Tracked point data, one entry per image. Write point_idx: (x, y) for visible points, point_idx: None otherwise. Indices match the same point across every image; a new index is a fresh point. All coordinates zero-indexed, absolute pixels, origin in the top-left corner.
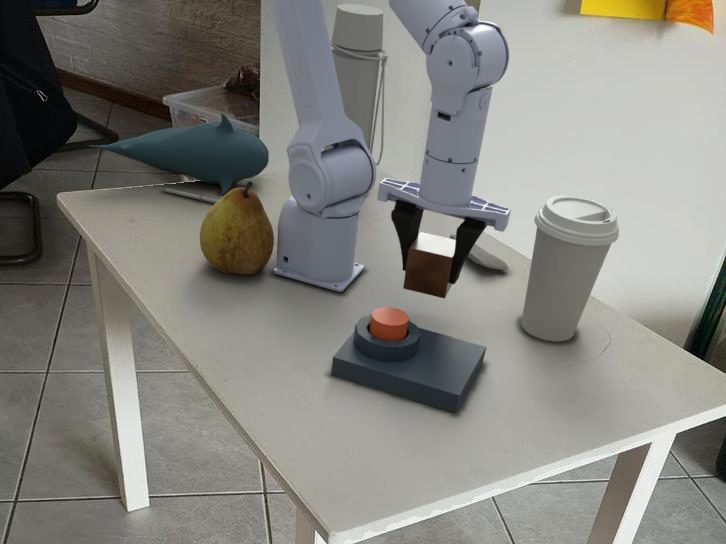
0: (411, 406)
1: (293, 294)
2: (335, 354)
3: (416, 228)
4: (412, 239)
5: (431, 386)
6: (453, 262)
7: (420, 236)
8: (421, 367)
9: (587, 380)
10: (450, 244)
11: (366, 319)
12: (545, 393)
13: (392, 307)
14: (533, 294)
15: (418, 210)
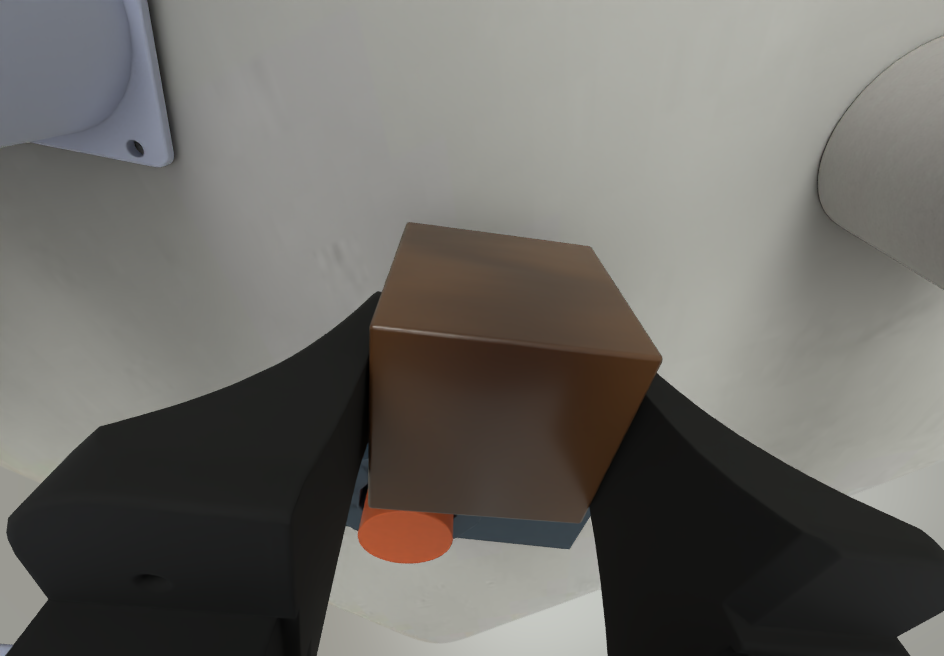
0: None
1: (55, 226)
2: None
3: (348, 455)
4: (357, 448)
5: (520, 543)
6: None
7: (389, 390)
8: None
9: (878, 376)
10: (581, 419)
11: None
12: (748, 437)
13: (400, 510)
14: (933, 263)
15: (304, 621)
